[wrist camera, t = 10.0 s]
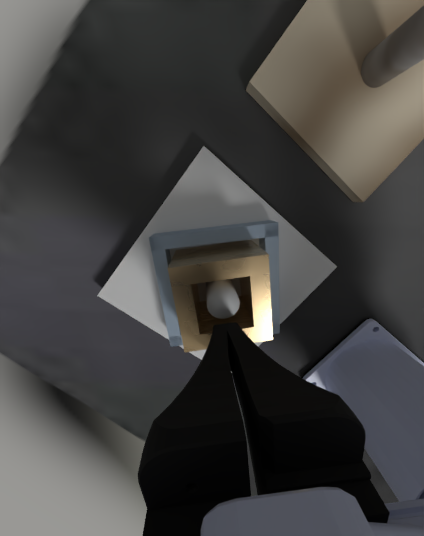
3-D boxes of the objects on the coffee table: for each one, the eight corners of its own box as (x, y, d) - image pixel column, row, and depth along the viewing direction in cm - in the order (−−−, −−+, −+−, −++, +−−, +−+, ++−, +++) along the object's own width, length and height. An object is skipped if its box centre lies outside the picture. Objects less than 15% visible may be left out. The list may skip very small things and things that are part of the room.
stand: (481, 65, 13) (620, -2, 9) (353, 202, 15) (414, 203, 11) (380, -98, 11) (502, -300, 6) (245, 90, 13) (268, 35, 8)
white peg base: (329, 262, 16) (375, 285, 12) (226, 367, 19) (234, 417, 14) (203, 149, 13) (204, 126, 9) (103, 289, 16) (67, 323, 12)
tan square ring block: (250, 239, 14) (268, 254, 11) (255, 306, 16) (273, 339, 12) (176, 249, 14) (167, 268, 11) (188, 315, 16) (184, 352, 12)
